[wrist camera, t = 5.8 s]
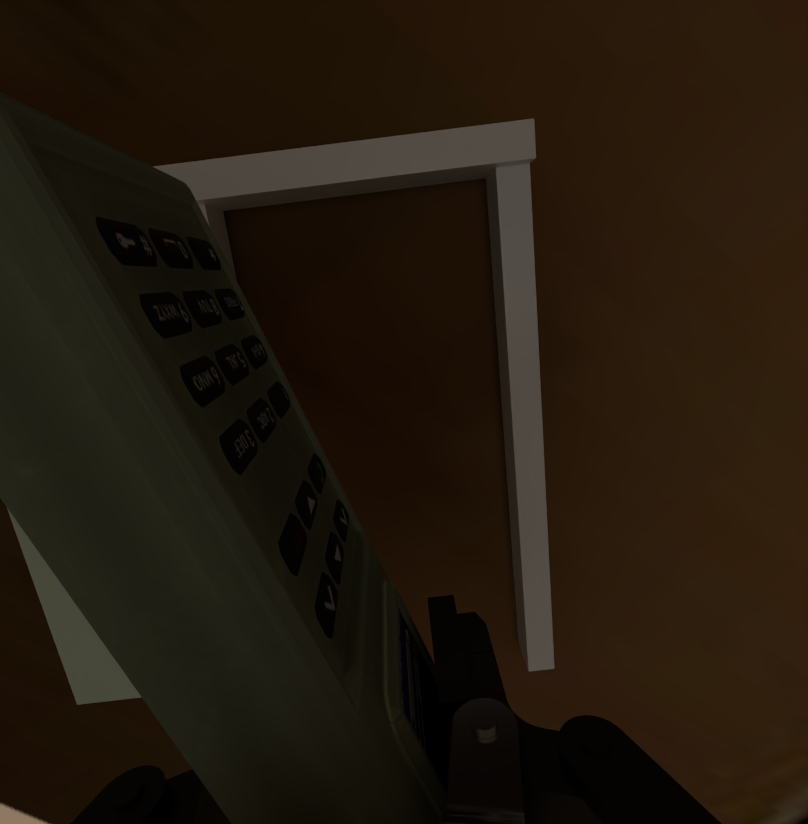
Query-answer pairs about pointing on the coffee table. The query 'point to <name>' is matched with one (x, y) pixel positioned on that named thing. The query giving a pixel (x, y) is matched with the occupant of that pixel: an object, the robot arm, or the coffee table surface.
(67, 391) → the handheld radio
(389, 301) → the coffee table surface
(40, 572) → the green mat
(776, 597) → the coffee table surface
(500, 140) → the white u-shaped frame
